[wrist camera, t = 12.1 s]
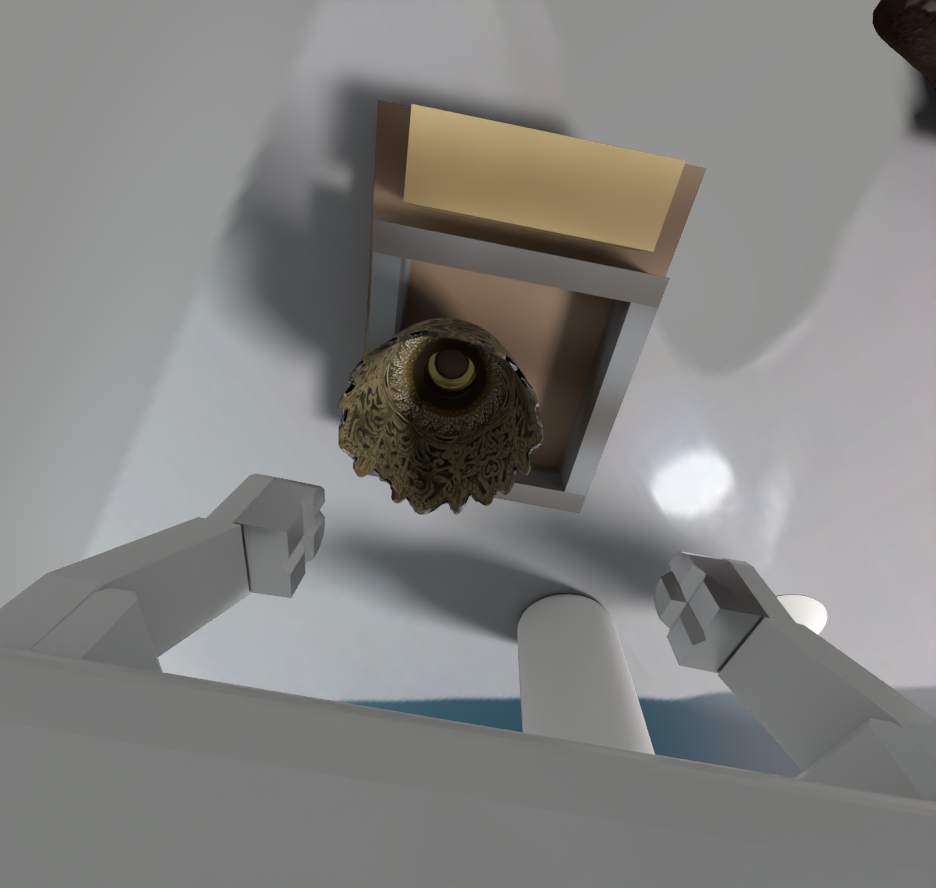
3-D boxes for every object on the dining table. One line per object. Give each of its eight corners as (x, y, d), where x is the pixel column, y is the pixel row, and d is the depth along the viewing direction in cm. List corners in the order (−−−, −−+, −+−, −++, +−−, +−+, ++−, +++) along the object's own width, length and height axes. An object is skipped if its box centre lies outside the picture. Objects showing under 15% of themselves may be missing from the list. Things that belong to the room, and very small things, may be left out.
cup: (352, 353, 21) (291, 424, 14) (458, 255, 18) (445, 282, 12) (446, 446, 24) (432, 543, 17) (548, 372, 21) (582, 450, 14)
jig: (387, 111, 18) (356, 73, 14) (690, 173, 18) (746, 154, 14) (366, 442, 26) (342, 480, 22) (578, 481, 26) (593, 525, 22)
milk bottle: (508, 596, 31) (527, 1067, 13) (609, 584, 30) (774, 1085, 12) (525, 658, 35) (557, 1100, 17) (616, 650, 33) (753, 1117, 16)
